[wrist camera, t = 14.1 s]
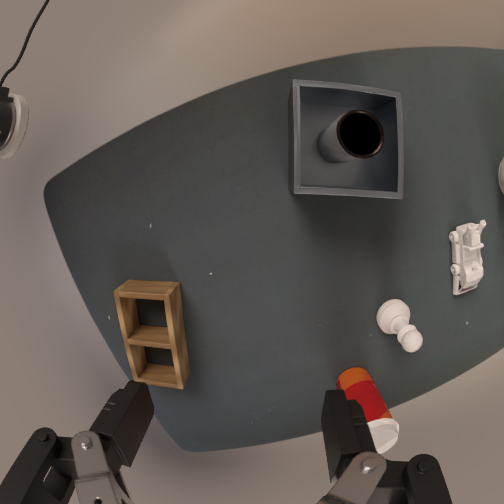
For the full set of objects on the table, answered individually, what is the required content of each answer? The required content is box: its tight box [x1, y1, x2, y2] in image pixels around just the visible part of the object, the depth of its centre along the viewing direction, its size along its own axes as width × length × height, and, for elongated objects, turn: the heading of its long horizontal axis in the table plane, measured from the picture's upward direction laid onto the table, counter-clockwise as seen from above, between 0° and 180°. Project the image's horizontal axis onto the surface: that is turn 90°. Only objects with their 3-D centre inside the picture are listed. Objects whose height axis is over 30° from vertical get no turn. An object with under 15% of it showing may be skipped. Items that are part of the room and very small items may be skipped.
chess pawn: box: [376, 299, 423, 352], centre depth 33 cm, size 5×5×9 cm
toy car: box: [449, 220, 486, 295], centre depth 32 cm, size 6×12×4 cm, turn 15°
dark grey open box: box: [288, 80, 404, 199], centre depth 29 cm, size 11×11×8 cm
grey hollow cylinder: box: [317, 109, 385, 163], centre depth 27 cm, size 4×4×10 cm
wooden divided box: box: [114, 280, 190, 389], centre depth 38 cm, size 15×8×4 cm, turn 0°
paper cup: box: [336, 367, 399, 454], centre depth 34 cm, size 8×8×14 cm
